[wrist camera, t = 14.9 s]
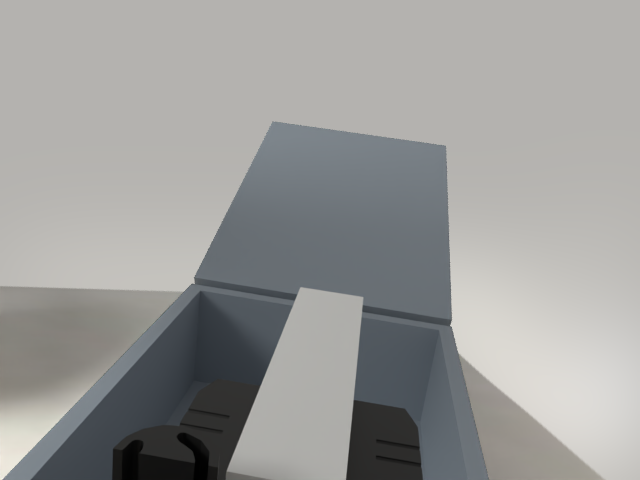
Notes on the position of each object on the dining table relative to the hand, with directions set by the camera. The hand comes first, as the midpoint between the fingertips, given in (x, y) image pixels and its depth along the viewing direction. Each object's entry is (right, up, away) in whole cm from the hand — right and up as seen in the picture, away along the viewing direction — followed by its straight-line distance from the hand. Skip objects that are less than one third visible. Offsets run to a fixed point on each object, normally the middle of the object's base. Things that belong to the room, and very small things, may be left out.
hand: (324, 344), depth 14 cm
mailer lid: (+2, +6, +30) cm, 30 cm away
